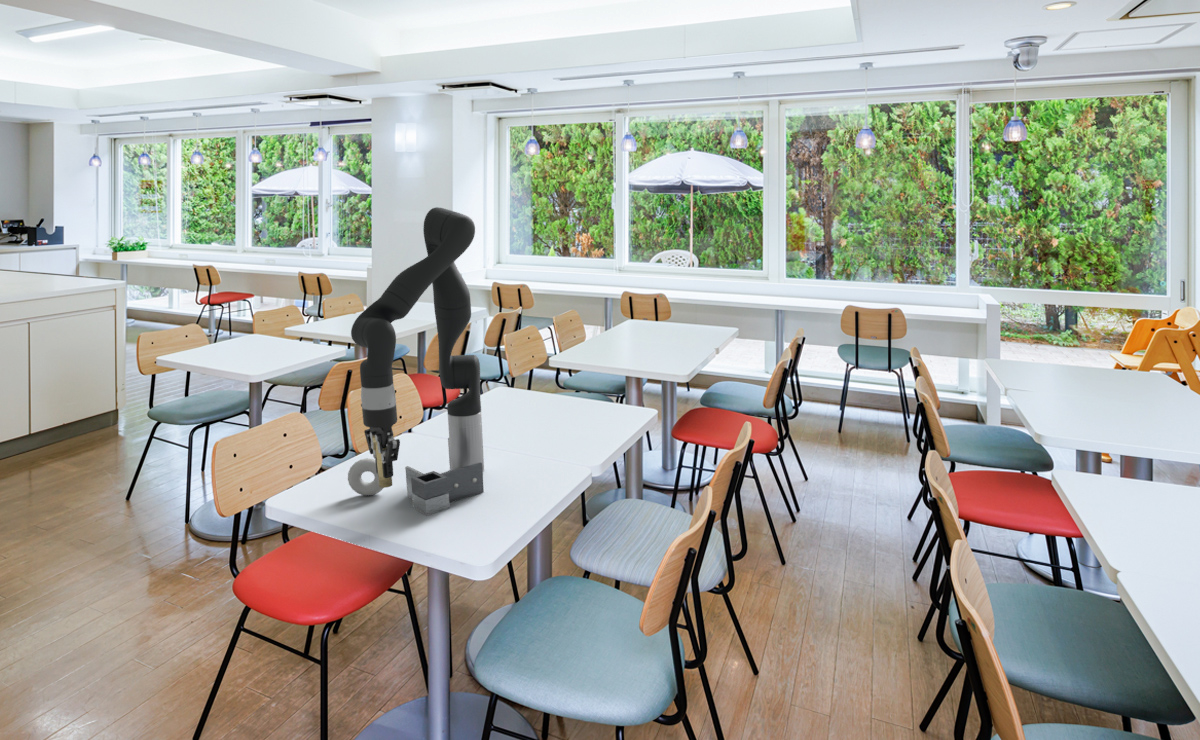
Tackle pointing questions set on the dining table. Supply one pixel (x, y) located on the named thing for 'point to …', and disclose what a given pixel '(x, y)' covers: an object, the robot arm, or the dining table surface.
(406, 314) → the robot arm
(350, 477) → the donut
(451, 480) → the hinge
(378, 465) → the pin
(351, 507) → the dining table surface
